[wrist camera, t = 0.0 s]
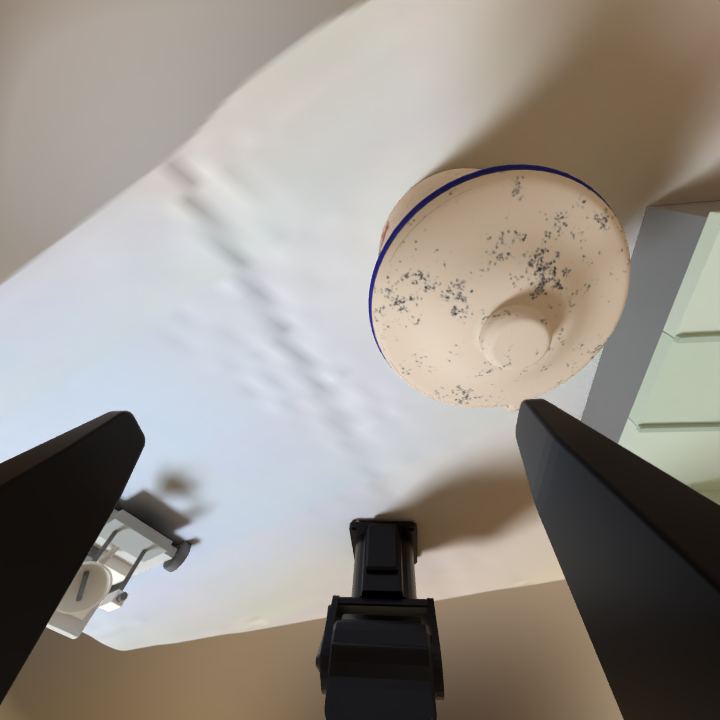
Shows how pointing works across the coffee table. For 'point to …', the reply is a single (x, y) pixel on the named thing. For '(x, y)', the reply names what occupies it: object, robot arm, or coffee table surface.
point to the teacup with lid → (497, 283)
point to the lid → (685, 379)
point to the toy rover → (113, 570)
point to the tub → (644, 311)
